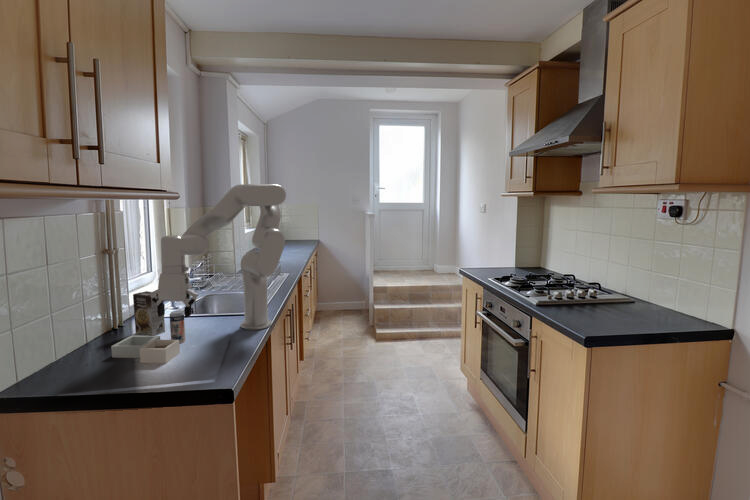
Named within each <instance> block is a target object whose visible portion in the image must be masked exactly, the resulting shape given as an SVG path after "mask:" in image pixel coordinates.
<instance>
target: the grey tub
mask: <svg viewBox="0 0 750 500" xmlns="http://www.w3.org/2000/svg"><path fill="white" fill-rule="evenodd" d="M153 340H161V335H155V336H147V335H134V334H133V335H129V336H128V337H125V338H124V339H122V340H121V341H119V342H116V343H114V344H113V345H111V346H110V347H111V357H112V358H114V359H115V358H122V359H123V358H124V359H129V358H131V359H135V358H136V359H140V350H139V349H140V348H142V347H143V346H145V345H147V344H148V343H150V342H151V341H153Z"/></svg>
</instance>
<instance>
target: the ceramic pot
mask: <svg viewBox="0 0 750 500" xmlns="http://www.w3.org/2000/svg"><path fill="white" fill-rule="evenodd" d="M166 345H167V347H166V348H155V347H156V346H166ZM180 349H181V348H180V344H179V340H171V339H160V340H153V341H151V342H150V343H148V344H147V345H145V346H143V347H142V348H140V349H139V350H140V358H139V359H140V360H139V363H140V364H167V363H169V362H170V361H172V360H173V359H174V358H175V357H177V356H178V355H180V354H181V353H180V352H181V350H180Z"/></svg>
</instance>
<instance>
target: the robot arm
mask: <svg viewBox="0 0 750 500" xmlns="http://www.w3.org/2000/svg"><path fill="white" fill-rule="evenodd" d="M286 199H287V191H286V190H285V188H284V187H283V186H281V185H280V184H277V183H272V184H268V183H267V184H257V183H255V184H254V183H253V184H252V183H251V184H250V183H249V184H248V183H247V184H246V183H245V184H243V183H242V184H236V185H234V186H232V187H231V188H230V189H229V190H228V192H226V193H225V195H223V196H222V198H221V199H220V200H219V201H218V202H217V203H216V204H215V205H214V206H213V207H212V208H211V209H210V210H208V211H207V212H206V213H204V214H203V215H202V216H201V217H199V218H198V219H197V220H196V221H195V222H193V223H192V224H191V225H190V226H189V227H188V228H187V229H186V230H185V232H184V233H183V234H181V235H173V234H171V235H164V236H162V237H161V239H160V251H161V252H160V253H161V254H160V255H161V258H160V259H161V260H160V261H161V273H160V274H159V277H158V283H157V289H154V291H150V292H151V293H150V296H151V298H152V300H153V301H154V302H155V303H156V306H157V313H158V316H159V317H160V316H162V315H164V316H165V312H166V309H165V307H166V306H165V303H164V304H163V302H182V303H183V304H184V305H185V306H184V308H183V310H184V318H189V317H190V316H191V315H192V306H193V304H195V302H196V301H197V299H198V297H199V293H197V292H196V291H193V290H192V289H191V284H190V283H191V282H190V278H189V274H188V272H187V271H189V266H186V256H202V255H205V254H206V253H208V251H209V249H210V242H209V240H208V239H207V238H208V236H210V235H212V233H214V232H216V231H218V230H220V229H223V228H225V227H227V226H229V225H230V224H231V223H232V222H233V221H234V220H235V219H236V217H238V215H239V214H240V213H241V212H242V211H243V210H244V208H246V207H259V210H260V214H259V218H258V221H257V223H256V227H255V229H254V232H253V235H252V238H251V243H252V245H253V247H255V248H256V249H259V251H254V250H253V251H248V252H246V253H244V255H243V256H241V260H240V271H241V275H242V284H243V287H242V289H243V308H244V309H243V311H244V312H243V313H244V321H241V323H240V327H241V328H242V329H243V328H244V330H249V331H251V330H252V331H253V330H255V331H256V330H257V331H258V330H262V329H266V328H269V327H270V326H272V324H273V322H272V320H271V319H269V312H268V311H269V310H268V307H269V306H268V281H267V278H269V277H271V276H272V275H273V274H275V272H276V270H277V268H278V265H279V263H280V260H281V257H282V254H283V251H284V249H285V244H286V238H285V235H284V233H283V232H282V231H281V230H280V229H279V226H280V222H281V218H282V214H281V208H280V205H281V204H282V203H284V202H285V200H286ZM157 293H158V297H156V294H157ZM191 297H192V298H191Z"/></svg>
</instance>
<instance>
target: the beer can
mask: <svg viewBox="0 0 750 500" xmlns="http://www.w3.org/2000/svg"><path fill="white" fill-rule="evenodd" d="M169 328H170V329H169V330H170V331H169V332H170V340H179V345H180V344H182V343H185V342H186V325H185V312H183V311H182V310H173V311H171V312H170V313H169Z"/></svg>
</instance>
